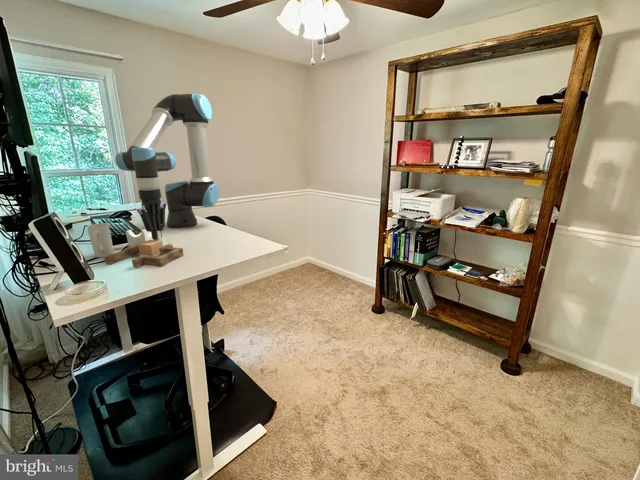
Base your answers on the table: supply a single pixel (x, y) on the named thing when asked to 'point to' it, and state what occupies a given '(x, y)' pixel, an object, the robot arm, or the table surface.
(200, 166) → the robot arm
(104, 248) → the mug
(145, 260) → the brown wooden puzzle piece
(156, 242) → the block
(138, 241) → the bracket
